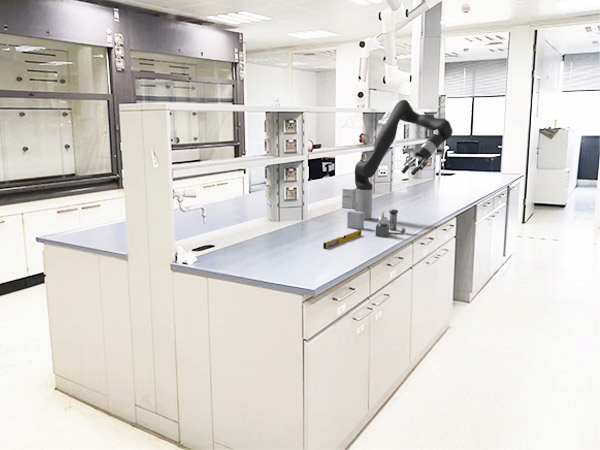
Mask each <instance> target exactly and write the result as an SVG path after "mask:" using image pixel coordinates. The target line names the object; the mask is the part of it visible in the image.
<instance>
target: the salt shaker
mask: <svg viewBox="0 0 600 450" xmlns="http://www.w3.org/2000/svg"><path fill="white" fill-rule="evenodd" d="M388 212H389V227H390V228H389V230H391V231H396V229H397V228H398V227H397V223H398V213H399V210H398V209H391V208H390V209H389V211H388Z"/></svg>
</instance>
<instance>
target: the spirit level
mask: <svg viewBox="0 0 600 450" xmlns="http://www.w3.org/2000/svg"><path fill="white" fill-rule="evenodd" d="M360 235H361V236H362V229H358V230H356V231H353V232H349V233H347V234H345V235H343V236H340V237H339V236H338V237H336V238H334V239H331V240H328V241H325V242H323V244H322V245H323V246H322V247H323V249H325V250H327V249H328V248H332V247H334V246H337V245H339V244H342V242H343V243H345V242H347V241H350V240H353V239H356V238H358V237H361V236H360Z"/></svg>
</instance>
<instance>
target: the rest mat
mask: <svg viewBox="0 0 600 450" xmlns="http://www.w3.org/2000/svg"><path fill="white" fill-rule="evenodd" d="M389 228H390V226H389ZM405 229H406V228H405V227H397V229H396V231H391V230H389V235H398V234H402V235H403V234H404V232H405Z"/></svg>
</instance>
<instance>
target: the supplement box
mask: <svg viewBox="0 0 600 450" xmlns="http://www.w3.org/2000/svg"><path fill="white" fill-rule="evenodd" d="M341 196H342V197H341V203H342V204H341V207H342V208H346V209H355V202H356V187H343V188H342V194H341Z"/></svg>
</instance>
